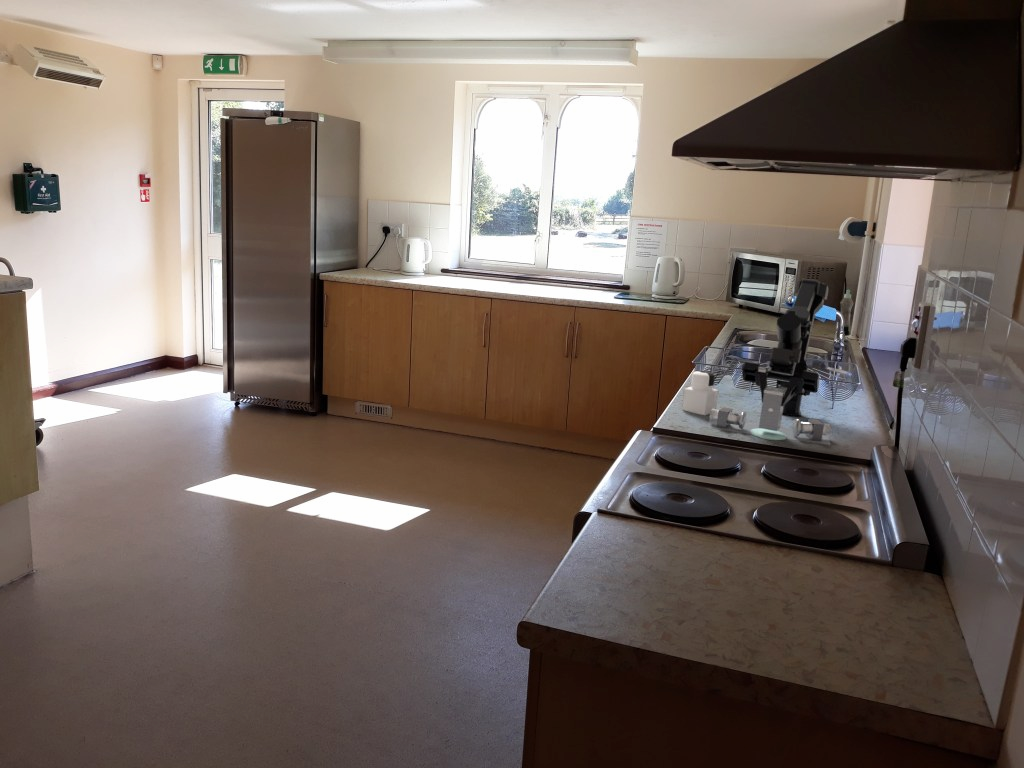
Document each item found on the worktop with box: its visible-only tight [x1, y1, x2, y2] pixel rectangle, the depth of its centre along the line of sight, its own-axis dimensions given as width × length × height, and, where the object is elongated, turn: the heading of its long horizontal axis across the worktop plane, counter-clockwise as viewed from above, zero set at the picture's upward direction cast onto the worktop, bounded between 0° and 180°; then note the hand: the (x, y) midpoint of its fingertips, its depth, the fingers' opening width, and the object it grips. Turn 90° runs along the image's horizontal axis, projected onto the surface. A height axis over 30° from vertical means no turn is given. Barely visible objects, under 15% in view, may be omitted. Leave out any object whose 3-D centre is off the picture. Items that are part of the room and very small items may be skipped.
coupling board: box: [707, 417, 832, 446], centre depth 211 cm, size 14×30×1 cm, turn 75°
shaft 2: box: [791, 418, 832, 441], centre depth 208 cm, size 8×5×5 cm, turn 90°
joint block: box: [758, 386, 786, 431], centre depth 208 cm, size 5×5×10 cm
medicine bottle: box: [681, 370, 719, 416], centre depth 227 cm, size 7×7×12 cm
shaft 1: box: [709, 406, 747, 429], centre depth 213 cm, size 8×5×5 cm, turn 60°
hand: (772, 403), depth 206 cm, fingers closed on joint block, 4 cm apart
